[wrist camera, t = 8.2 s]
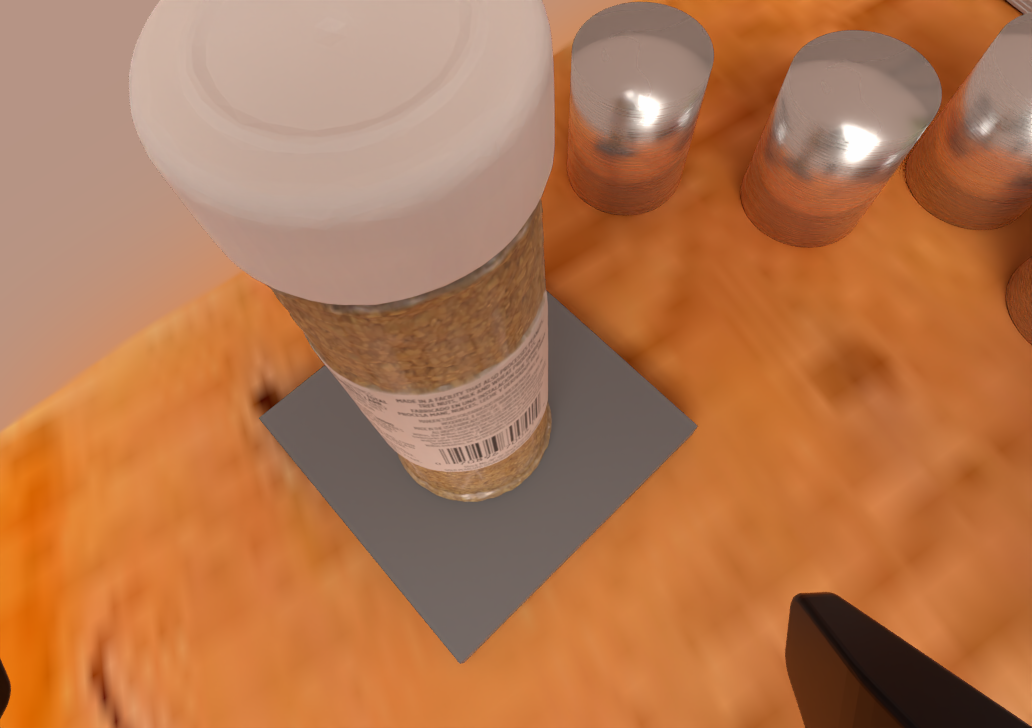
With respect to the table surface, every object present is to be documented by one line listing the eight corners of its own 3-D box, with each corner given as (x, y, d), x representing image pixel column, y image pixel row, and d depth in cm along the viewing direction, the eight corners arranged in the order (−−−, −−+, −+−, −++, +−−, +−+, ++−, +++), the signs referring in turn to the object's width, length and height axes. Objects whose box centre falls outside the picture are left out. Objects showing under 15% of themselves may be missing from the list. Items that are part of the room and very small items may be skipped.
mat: (463, 663, 17) (459, 663, 17) (269, 426, 20) (258, 418, 20) (692, 434, 20) (698, 426, 19) (487, 249, 22) (485, 235, 22)
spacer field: (993, 534, 18) (1144, 495, 14) (543, 168, 24) (542, 52, 19) (1202, 271, 21) (1385, 165, 16) (756, -1, 27) (800, -137, 22)
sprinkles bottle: (530, 340, 20) (500, -150, 8) (569, 485, 18) (612, 145, 6) (381, 375, 20) (109, -74, 8) (407, 526, 18) (103, 258, 6)
